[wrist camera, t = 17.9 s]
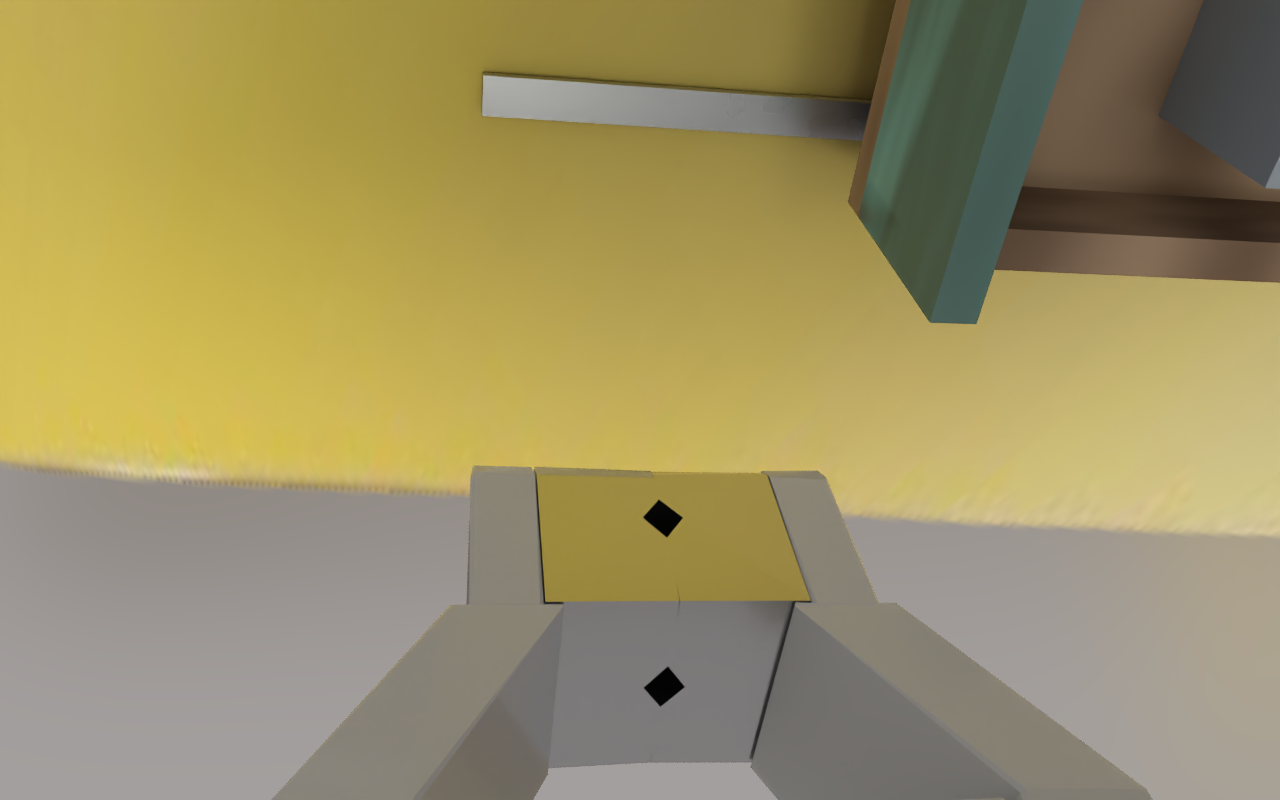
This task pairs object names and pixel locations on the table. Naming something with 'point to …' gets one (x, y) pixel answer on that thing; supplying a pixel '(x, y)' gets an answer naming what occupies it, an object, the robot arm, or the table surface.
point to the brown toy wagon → (1046, 153)
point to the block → (1232, 86)
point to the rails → (673, 107)
